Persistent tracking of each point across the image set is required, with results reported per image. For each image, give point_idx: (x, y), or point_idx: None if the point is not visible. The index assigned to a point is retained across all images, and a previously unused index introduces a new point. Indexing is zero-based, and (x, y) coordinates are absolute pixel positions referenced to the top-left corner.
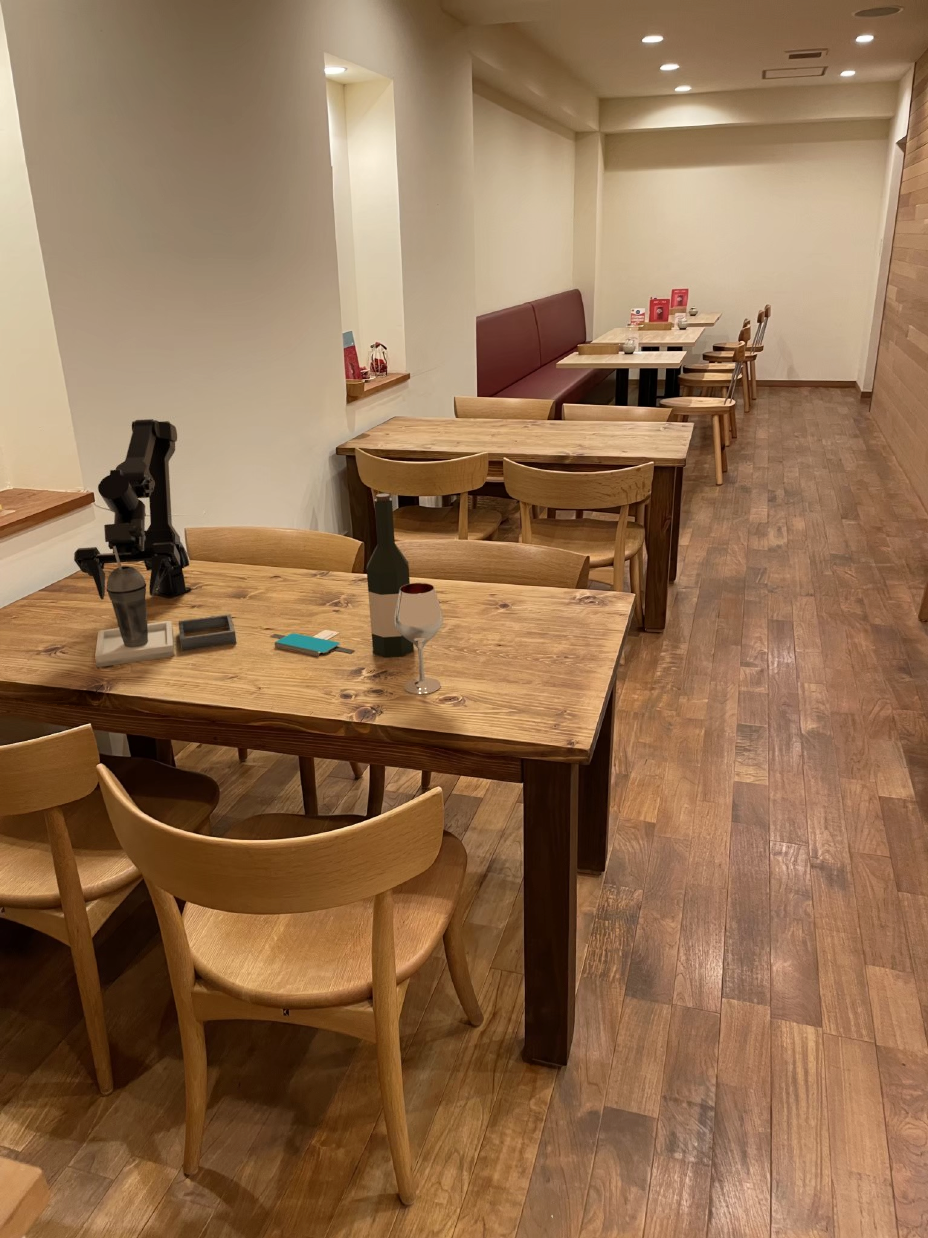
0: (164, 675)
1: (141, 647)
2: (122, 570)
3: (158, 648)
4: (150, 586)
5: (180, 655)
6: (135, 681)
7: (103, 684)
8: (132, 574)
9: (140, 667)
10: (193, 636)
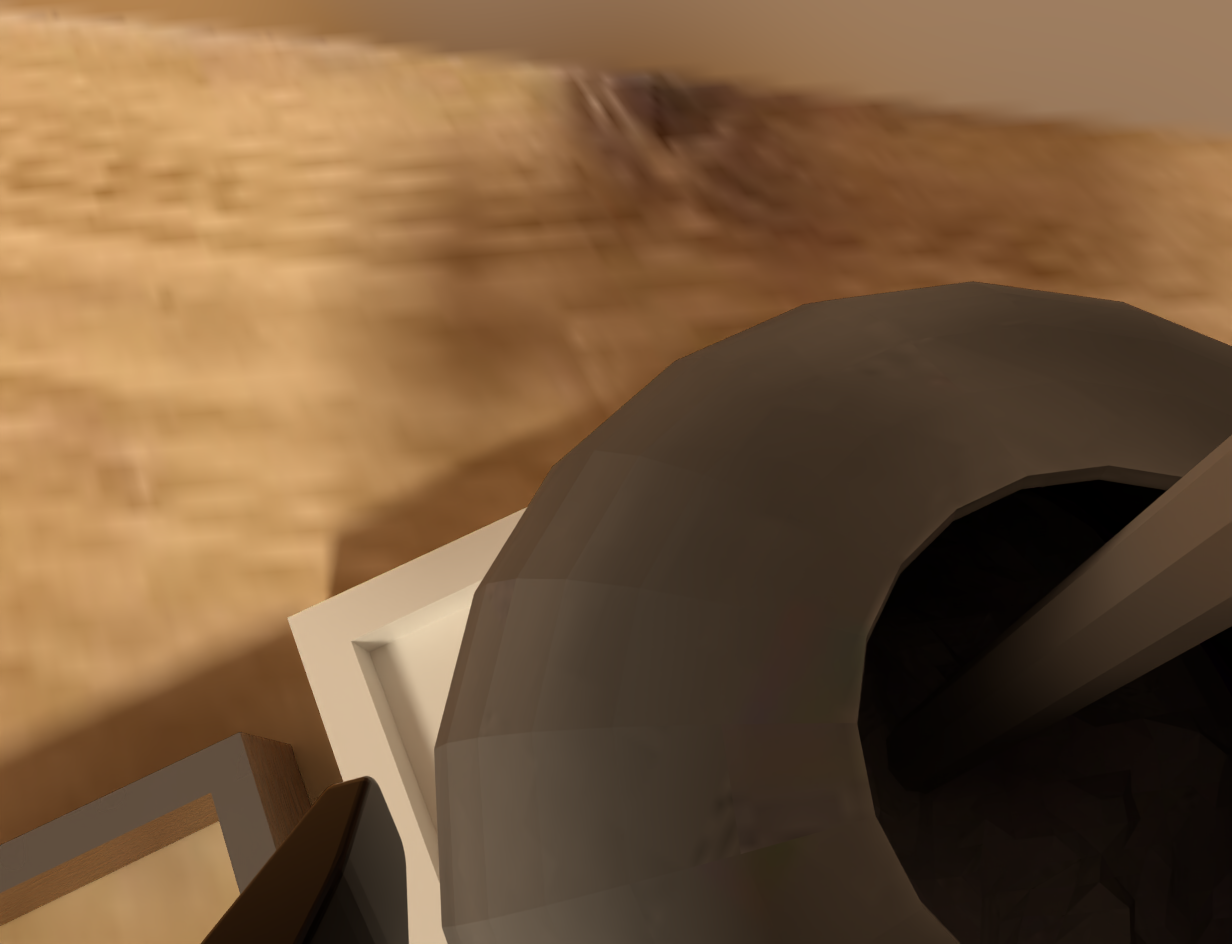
0: (290, 298)
1: None
2: (957, 429)
3: (414, 562)
4: (312, 867)
5: (278, 654)
6: (461, 201)
7: (663, 146)
8: (580, 543)
9: (527, 407)
10: (115, 819)
